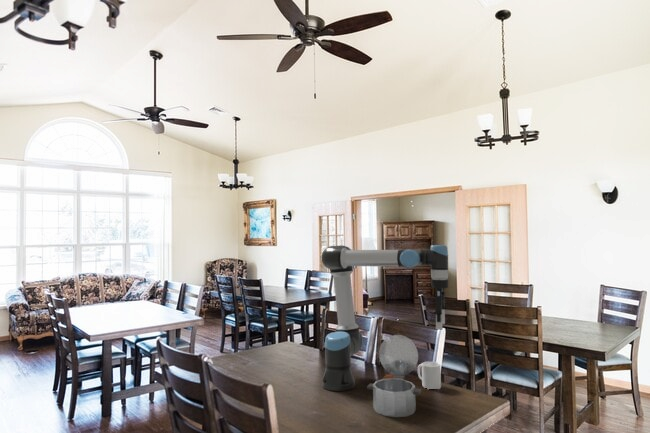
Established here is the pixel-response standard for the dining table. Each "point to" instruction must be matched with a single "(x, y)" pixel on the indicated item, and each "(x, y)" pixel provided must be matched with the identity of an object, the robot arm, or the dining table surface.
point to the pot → (394, 397)
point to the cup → (430, 375)
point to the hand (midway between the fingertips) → (440, 326)
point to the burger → (389, 377)
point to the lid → (398, 355)
